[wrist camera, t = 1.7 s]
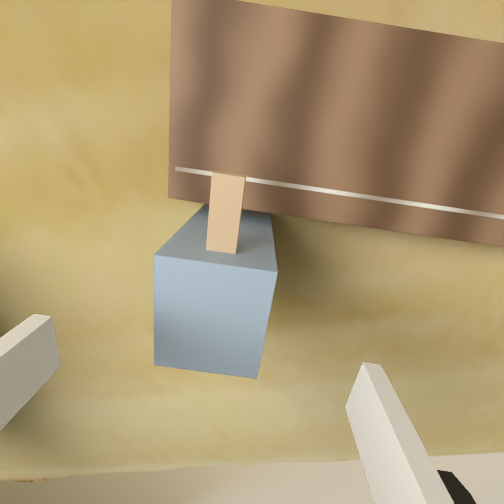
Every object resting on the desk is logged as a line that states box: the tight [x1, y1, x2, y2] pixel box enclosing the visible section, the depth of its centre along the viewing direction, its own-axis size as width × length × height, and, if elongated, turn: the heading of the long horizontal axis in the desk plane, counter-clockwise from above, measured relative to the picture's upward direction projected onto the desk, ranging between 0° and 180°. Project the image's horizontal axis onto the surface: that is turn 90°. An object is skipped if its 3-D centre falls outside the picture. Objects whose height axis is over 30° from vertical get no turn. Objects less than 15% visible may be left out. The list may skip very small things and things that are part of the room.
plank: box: [168, 0, 504, 247], centre depth 19 cm, size 30×12×4 cm, turn 82°
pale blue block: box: [154, 171, 278, 379], centre depth 19 cm, size 6×11×12 cm, turn 172°
